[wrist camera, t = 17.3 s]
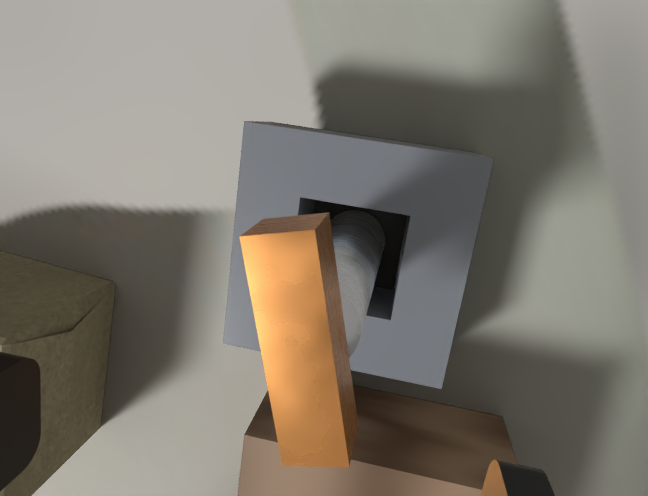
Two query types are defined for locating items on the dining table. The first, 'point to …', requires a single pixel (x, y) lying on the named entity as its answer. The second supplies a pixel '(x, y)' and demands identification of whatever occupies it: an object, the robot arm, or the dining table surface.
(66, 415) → the tissue box
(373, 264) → the bar
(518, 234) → the dining table surface
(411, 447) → the block
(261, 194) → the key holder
